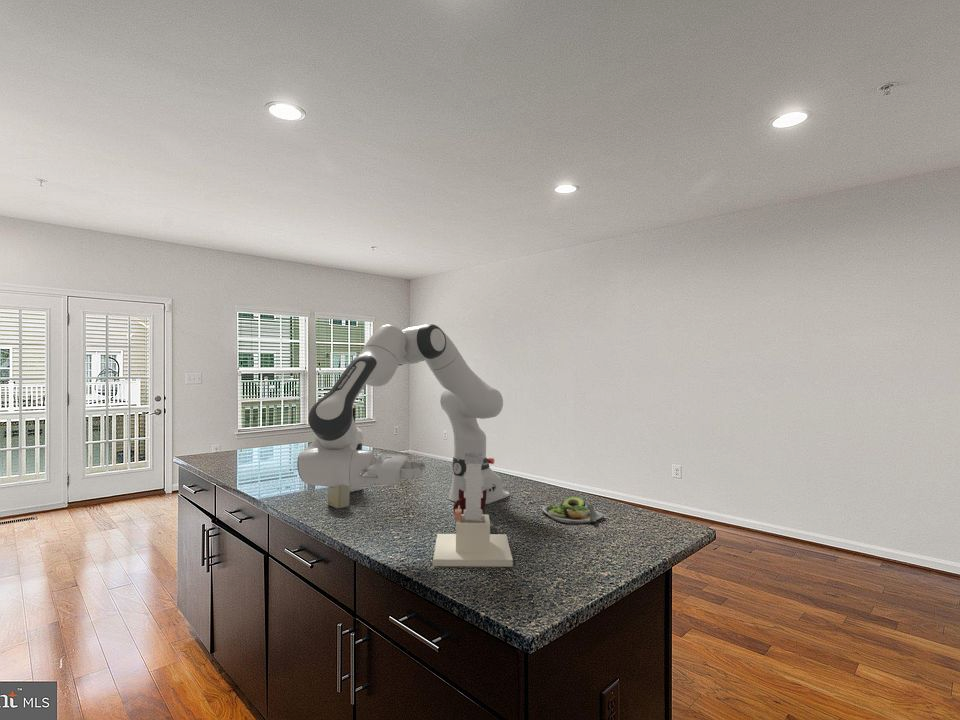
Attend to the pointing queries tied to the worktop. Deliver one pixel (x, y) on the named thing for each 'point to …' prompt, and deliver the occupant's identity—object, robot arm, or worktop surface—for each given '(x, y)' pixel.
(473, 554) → the stand
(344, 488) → the skincare box
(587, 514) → the salad plate
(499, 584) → the worktop surface
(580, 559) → the worktop surface
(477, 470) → the column
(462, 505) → the mug
